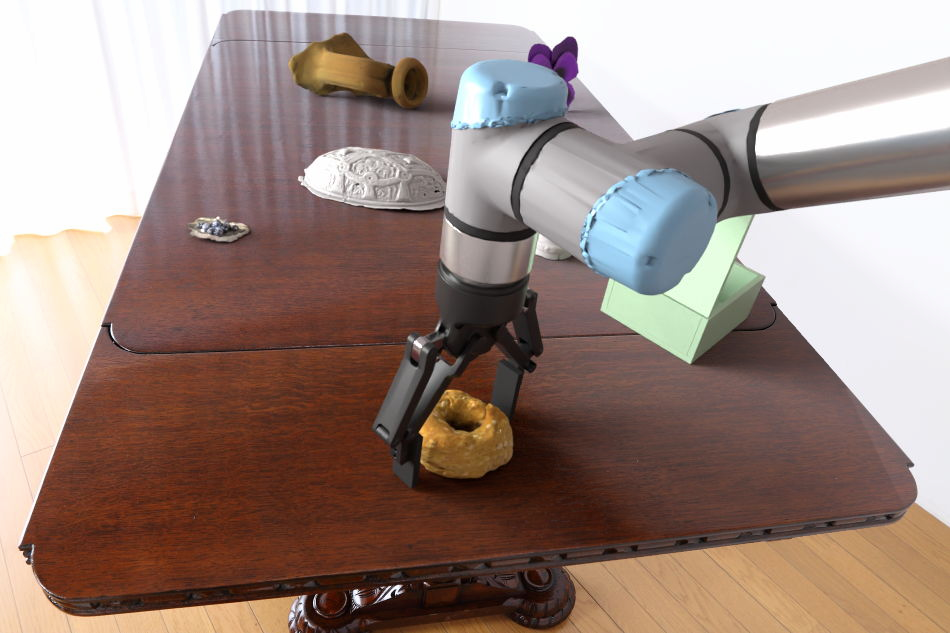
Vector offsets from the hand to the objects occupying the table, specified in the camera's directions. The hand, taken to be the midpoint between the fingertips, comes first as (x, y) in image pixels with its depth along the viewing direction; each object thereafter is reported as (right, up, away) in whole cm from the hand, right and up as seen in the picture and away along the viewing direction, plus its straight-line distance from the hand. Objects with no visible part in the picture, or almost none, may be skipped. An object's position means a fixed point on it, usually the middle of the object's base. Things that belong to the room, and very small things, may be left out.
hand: (456, 443), depth 67 cm
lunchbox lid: (+26, +23, +10) cm, 36 cm away
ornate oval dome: (-14, +33, +43) cm, 56 cm away
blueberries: (-33, +24, +26) cm, 49 cm away
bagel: (0, 0, 0) cm, 0 cm away
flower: (+16, +60, +84) cm, 105 cm away
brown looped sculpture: (-22, +58, +73) cm, 96 cm away
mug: (+15, +23, +34) cm, 44 cm away
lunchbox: (+29, +13, +23) cm, 39 cm away
